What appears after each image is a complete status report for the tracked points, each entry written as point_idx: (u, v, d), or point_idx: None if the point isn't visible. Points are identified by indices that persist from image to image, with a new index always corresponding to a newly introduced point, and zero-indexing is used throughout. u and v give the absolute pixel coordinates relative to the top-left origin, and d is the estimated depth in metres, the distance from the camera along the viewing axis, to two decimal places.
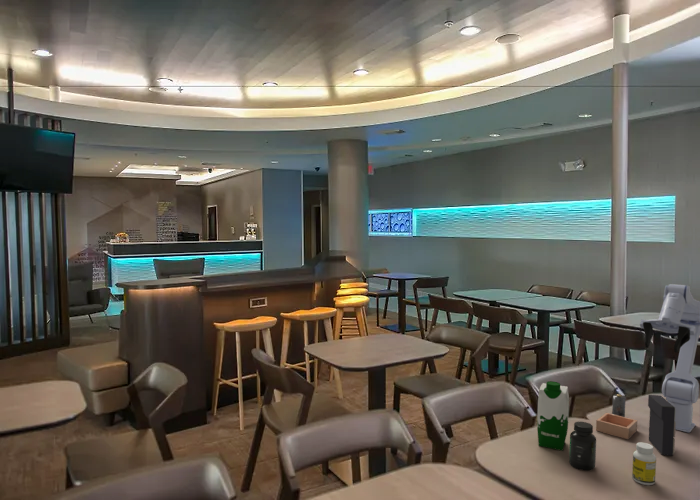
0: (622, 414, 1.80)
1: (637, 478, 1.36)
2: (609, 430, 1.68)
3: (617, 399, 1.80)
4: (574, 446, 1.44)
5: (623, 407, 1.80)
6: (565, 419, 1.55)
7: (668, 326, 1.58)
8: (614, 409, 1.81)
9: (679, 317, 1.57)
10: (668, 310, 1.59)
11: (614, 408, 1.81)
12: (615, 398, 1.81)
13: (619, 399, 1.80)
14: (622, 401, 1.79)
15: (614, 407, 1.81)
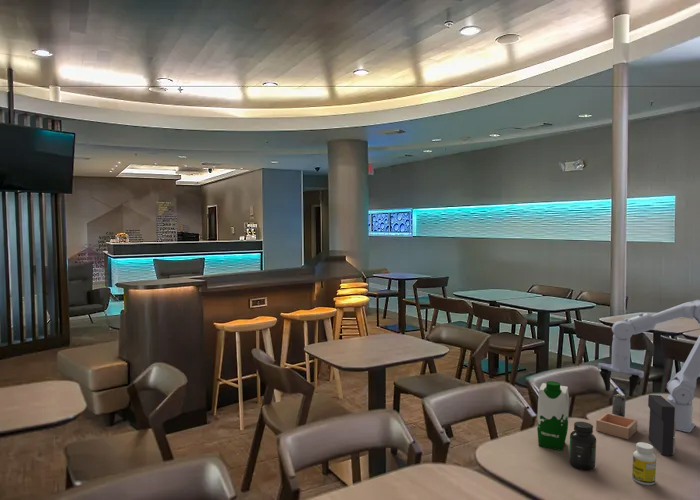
0: (622, 414, 1.80)
1: (637, 478, 1.36)
2: (609, 430, 1.68)
3: (617, 399, 1.80)
4: (574, 446, 1.44)
5: (623, 407, 1.80)
6: (565, 419, 1.56)
7: None
8: (614, 409, 1.81)
9: (628, 361, 1.78)
10: (617, 359, 1.79)
11: (614, 408, 1.81)
12: (615, 398, 1.81)
13: (619, 399, 1.80)
14: (622, 401, 1.79)
15: (614, 407, 1.81)
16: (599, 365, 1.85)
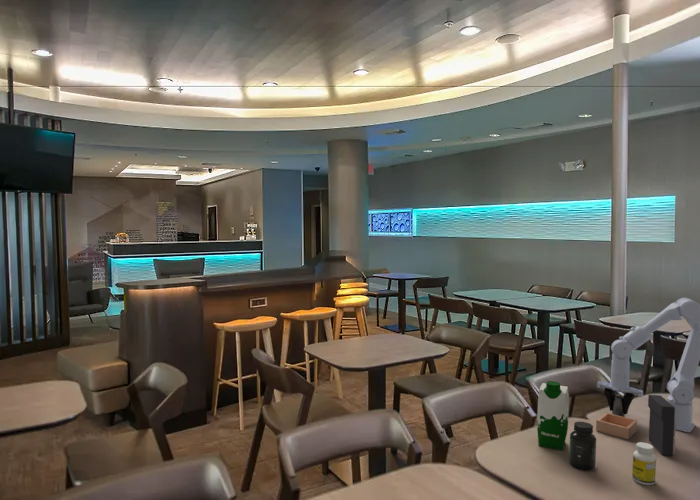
0: (622, 414, 1.80)
1: (637, 478, 1.36)
2: (609, 430, 1.68)
3: (617, 399, 1.80)
4: (574, 446, 1.44)
5: (623, 407, 1.80)
6: (565, 419, 1.55)
7: None
8: (614, 409, 1.81)
9: (627, 380, 1.79)
10: (616, 378, 1.79)
11: (614, 408, 1.81)
12: (615, 398, 1.81)
13: (619, 399, 1.80)
14: (622, 401, 1.79)
15: (614, 407, 1.81)
16: (598, 383, 1.85)
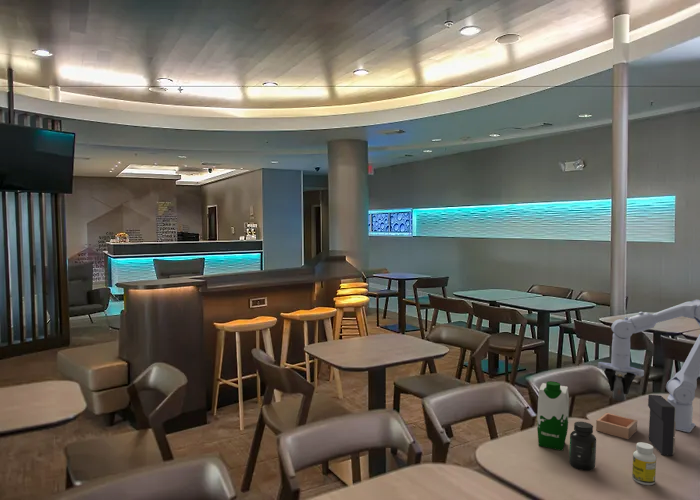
0: (623, 394, 1.78)
1: (637, 478, 1.36)
2: (609, 430, 1.68)
3: (618, 379, 1.79)
4: (574, 446, 1.44)
5: (624, 387, 1.78)
6: (565, 419, 1.55)
7: None
8: (615, 389, 1.80)
9: (628, 360, 1.77)
10: (617, 357, 1.78)
11: (615, 388, 1.80)
12: (616, 378, 1.79)
13: (620, 379, 1.78)
14: (623, 381, 1.78)
15: (615, 387, 1.80)
16: (599, 364, 1.84)
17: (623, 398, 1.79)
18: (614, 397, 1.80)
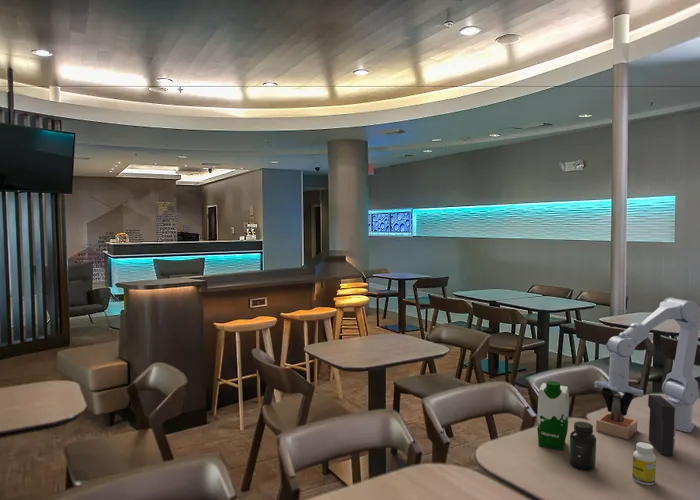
0: (621, 415, 1.69)
1: (637, 478, 1.36)
2: (609, 430, 1.68)
3: (616, 399, 1.69)
4: (574, 446, 1.44)
5: (622, 408, 1.69)
6: (565, 419, 1.55)
7: None
8: (612, 410, 1.70)
9: (627, 379, 1.68)
10: (615, 377, 1.68)
11: (612, 409, 1.70)
12: (613, 398, 1.70)
13: (618, 399, 1.69)
14: (621, 401, 1.69)
15: (612, 408, 1.70)
16: (596, 383, 1.74)
17: (621, 420, 1.69)
18: (612, 418, 1.70)
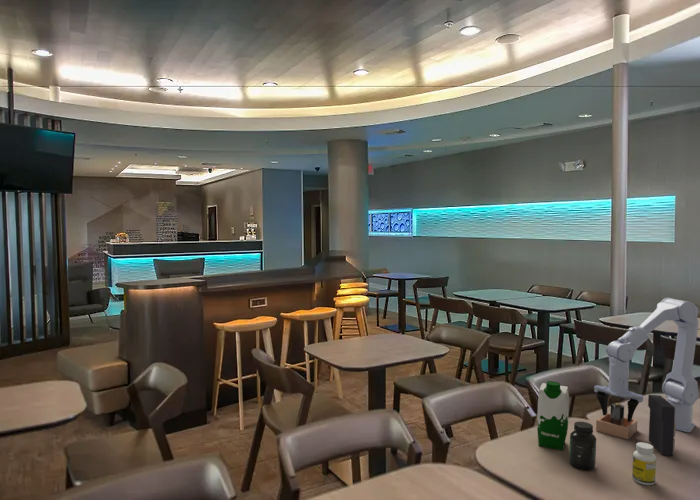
0: (621, 424, 1.69)
1: (637, 478, 1.36)
2: (609, 430, 1.68)
3: (615, 408, 1.69)
4: (574, 446, 1.44)
5: (622, 417, 1.69)
6: (565, 419, 1.55)
7: None
8: (612, 419, 1.70)
9: (626, 384, 1.68)
10: (615, 382, 1.68)
11: (612, 418, 1.70)
12: (613, 407, 1.70)
13: (617, 408, 1.69)
14: (621, 411, 1.69)
15: (612, 417, 1.70)
16: (596, 387, 1.74)
17: None
18: None
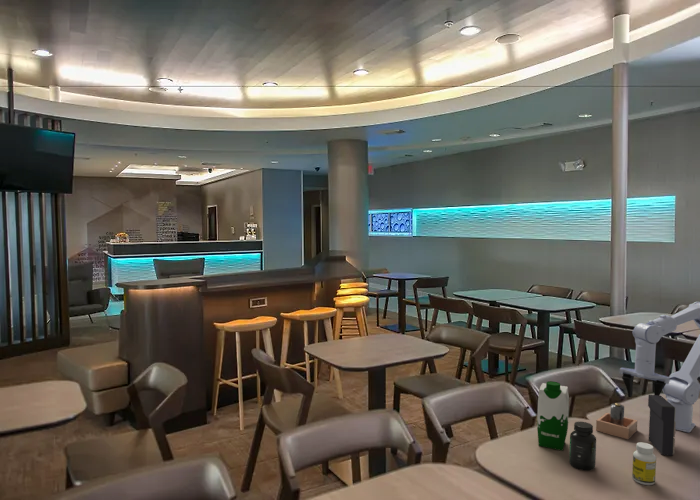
0: (621, 424, 1.69)
1: (637, 478, 1.36)
2: (609, 430, 1.68)
3: (615, 408, 1.69)
4: (574, 446, 1.44)
5: (622, 417, 1.69)
6: (565, 419, 1.55)
7: None
8: (612, 419, 1.70)
9: (653, 366, 1.68)
10: (641, 363, 1.69)
11: (612, 418, 1.70)
12: (613, 407, 1.70)
13: (617, 408, 1.69)
14: (620, 411, 1.69)
15: (612, 417, 1.70)
16: (621, 370, 1.75)
17: None
18: None
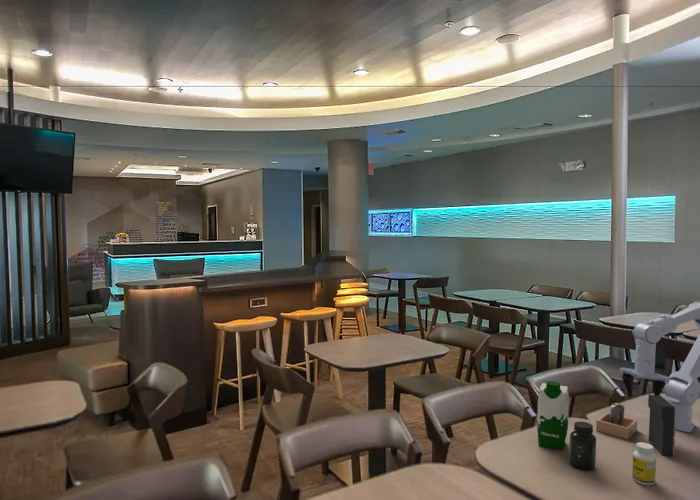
0: (621, 424, 1.69)
1: (637, 478, 1.36)
2: (609, 430, 1.68)
3: (615, 408, 1.69)
4: (574, 446, 1.44)
5: (622, 417, 1.69)
6: (565, 419, 1.55)
7: None
8: (612, 419, 1.70)
9: (653, 366, 1.68)
10: (641, 363, 1.69)
11: (612, 418, 1.70)
12: (613, 407, 1.70)
13: (617, 408, 1.69)
14: (621, 411, 1.69)
15: (612, 417, 1.70)
16: (621, 370, 1.75)
17: None
18: None
